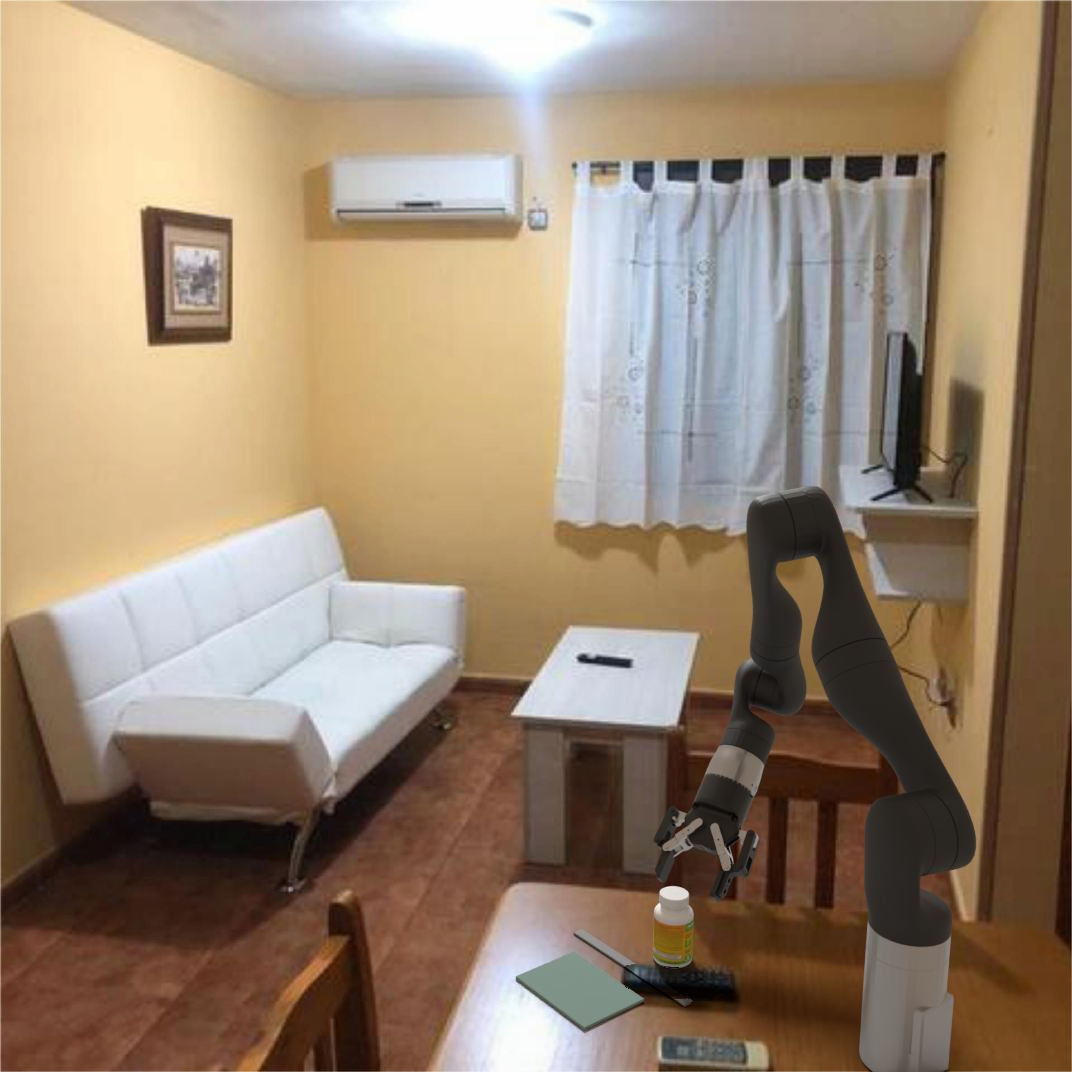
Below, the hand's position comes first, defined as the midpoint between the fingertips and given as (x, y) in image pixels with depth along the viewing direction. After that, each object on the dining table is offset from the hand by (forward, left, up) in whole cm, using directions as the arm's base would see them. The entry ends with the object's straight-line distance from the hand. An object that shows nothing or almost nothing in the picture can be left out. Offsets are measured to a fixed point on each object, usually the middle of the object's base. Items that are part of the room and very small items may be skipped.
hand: (686, 889), depth 159 cm
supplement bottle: (-1, +3, -9) cm, 10 cm away
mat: (+1, +18, -9) cm, 20 cm away
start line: (+1, +9, -9) cm, 13 cm away
